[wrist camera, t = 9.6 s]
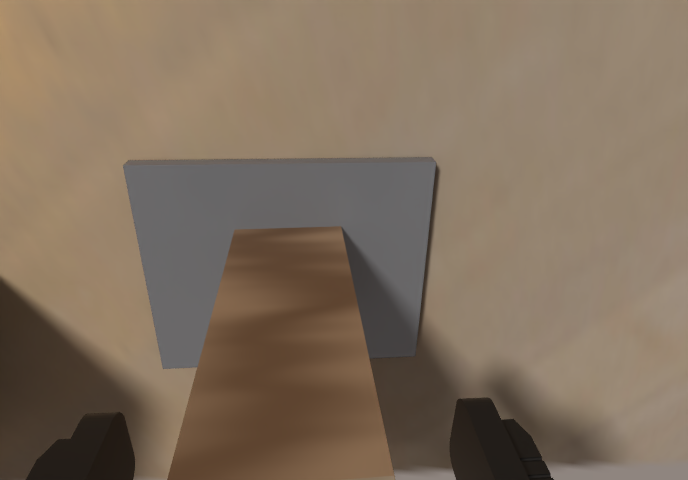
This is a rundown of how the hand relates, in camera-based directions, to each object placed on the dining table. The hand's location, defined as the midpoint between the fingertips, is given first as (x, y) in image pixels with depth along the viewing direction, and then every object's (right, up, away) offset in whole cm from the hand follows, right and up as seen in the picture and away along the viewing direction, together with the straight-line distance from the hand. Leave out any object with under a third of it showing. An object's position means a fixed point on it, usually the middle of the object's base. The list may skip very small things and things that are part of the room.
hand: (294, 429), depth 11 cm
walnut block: (-1, +3, +7) cm, 8 cm away
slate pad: (-1, +4, +8) cm, 9 cm away
